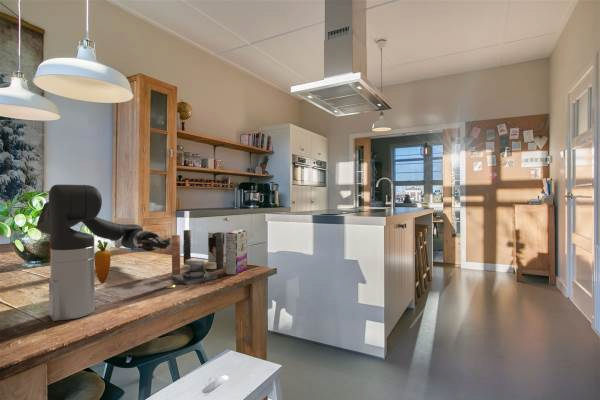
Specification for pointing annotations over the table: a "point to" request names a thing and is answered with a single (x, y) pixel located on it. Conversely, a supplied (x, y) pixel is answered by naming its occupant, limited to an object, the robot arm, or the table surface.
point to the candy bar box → (236, 251)
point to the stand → (192, 277)
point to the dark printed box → (214, 246)
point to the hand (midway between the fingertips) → (164, 245)
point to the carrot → (102, 262)
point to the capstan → (188, 263)
